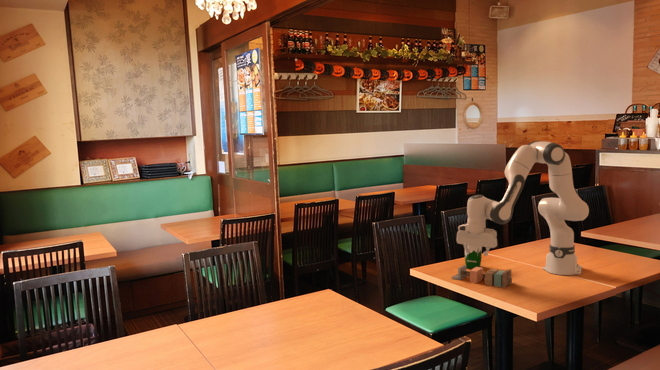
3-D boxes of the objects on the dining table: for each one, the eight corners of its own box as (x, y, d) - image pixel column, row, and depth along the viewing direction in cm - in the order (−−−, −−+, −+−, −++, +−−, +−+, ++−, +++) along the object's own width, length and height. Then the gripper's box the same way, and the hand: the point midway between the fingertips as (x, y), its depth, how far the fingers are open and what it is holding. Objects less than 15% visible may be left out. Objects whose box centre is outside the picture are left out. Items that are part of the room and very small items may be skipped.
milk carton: (482, 265, 284) (482, 230, 282) (480, 270, 276) (480, 233, 274) (466, 264, 288) (466, 229, 285) (463, 268, 279) (463, 233, 277)
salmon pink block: (476, 278, 262) (476, 266, 261) (482, 279, 260) (482, 267, 259) (469, 282, 256) (469, 270, 255) (476, 283, 254) (476, 271, 253)
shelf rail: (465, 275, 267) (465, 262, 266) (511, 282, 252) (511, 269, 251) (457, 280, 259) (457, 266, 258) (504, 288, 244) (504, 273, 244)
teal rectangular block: (500, 282, 254) (500, 270, 254) (507, 283, 252) (507, 271, 251) (494, 286, 248) (494, 274, 247) (501, 287, 246) (501, 275, 245)
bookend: (457, 275, 268) (457, 264, 267) (466, 276, 265) (466, 265, 264) (451, 278, 262) (451, 267, 261) (460, 280, 259) (460, 268, 258)
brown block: (491, 280, 257) (491, 269, 256) (497, 281, 255) (497, 270, 254) (484, 284, 251) (485, 272, 250) (491, 285, 249) (491, 273, 248)
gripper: (499, 228, 251) (499, 255, 253) (460, 224, 264) (460, 250, 265) (494, 230, 246) (494, 258, 248) (454, 226, 259) (455, 253, 261)
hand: (476, 254), depth 257 cm, fingers open, 8 cm apart
